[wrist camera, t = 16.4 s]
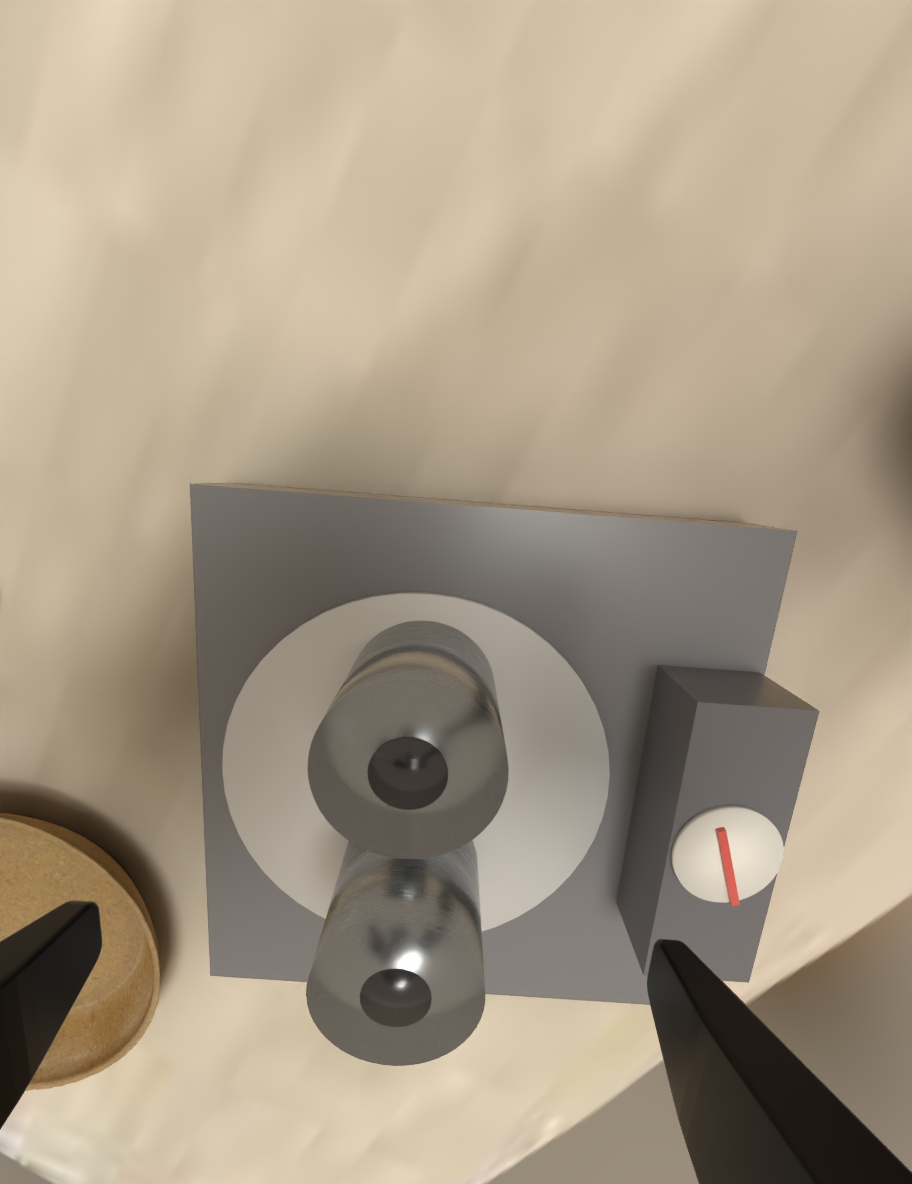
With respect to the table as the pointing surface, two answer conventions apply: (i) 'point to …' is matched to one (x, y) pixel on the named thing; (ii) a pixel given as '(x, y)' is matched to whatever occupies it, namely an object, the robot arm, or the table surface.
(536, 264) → the table surface
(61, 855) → the plant saucer
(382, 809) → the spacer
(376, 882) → the cylinder
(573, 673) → the kitchen scale
